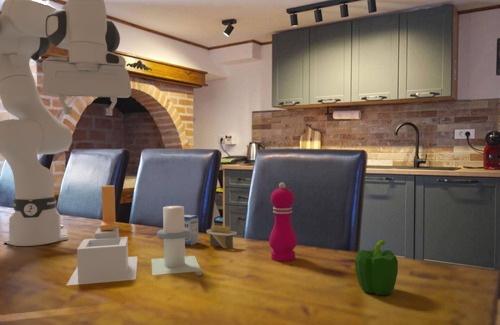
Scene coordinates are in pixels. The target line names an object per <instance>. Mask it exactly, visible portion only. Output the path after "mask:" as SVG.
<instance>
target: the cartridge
mask: <svg viewBox="0 0 500 325" xmlns="http://www.w3.org/2000/svg"><path fill="white" fill-rule="evenodd" d="M162 215H163V216H162V218H163V219H162V220H163V222H162V224H163V226H162V227H163V229H159V230H157V231H156V236H157V238H159V239H163V258H164V266H165V267H170V268H175V267H181V266H184V265H185V256H186V245H185V237H188V236H190V235H191V230H190V229H187V228H184V215H185V206H182V205H166V206H163V207H162Z"/></svg>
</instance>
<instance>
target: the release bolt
mask: <svg viewBox="0 0 500 325" xmlns="http://www.w3.org/2000/svg"><path fill="white" fill-rule="evenodd" d="M115 189H116V188H115V185H102V186H101V207H102V208H101V209H102V211H101V212H102V221H101V223H100V225H99V228H100V230H113V229H114V227H116V195H115V194H116V192H115V191H116V190H115Z"/></svg>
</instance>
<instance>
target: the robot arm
mask: <svg viewBox="0 0 500 325" xmlns="http://www.w3.org/2000/svg"><path fill="white" fill-rule="evenodd" d="M120 42H121V36H120V33H119V30H118V28H117V26H116V25H115V23H114V22H113V21H112V20H110V19H107V9H106V4H105V0H67V2H66V3H65V4H64V5H63V6H62V7H61V8H57V7H55V6H53V5H51V4H49V3H47V2H45V1H43V0H4V1H3V3H2V4H1V13H0V99H1V103H2V106H3V108H4V109H5V111H7V113H9V114H10V115H12V116H14V117H15V118H11V119H4V120H0V155H1V156H2V157H3V158H4V159H5V161H6V162H7V164H8V165H9V167H10V169H11V171H12V176H13V181H14V182H13V184H14V194H15V195H14V196H15V197H14V199H13V210H14V211H13V214H12V215H11V216H9V219H8V221H9V222H8V238H6V239H4V240H3V244H4V243H7V244H6V245H11V246H14V247H15V246H16V247H17V246H18V247H29V246H32V247H33V246H42V245H48V244H53V243H55V242H62V241H66V240H69V236H68V234H69V233H68V230H67V229H66V228H65V229H63V228H64V225H63V224H61V214H60V213H59V212H58V210H57V200H56V199H57V198H56V196H55V187H54V186H55V184H54V181H55V180H54V179H55V178H54V174H53V172H52V171H51V169H49V168H48V167H46V166H43V165H42V164H41V162H40V161H39V157H38V155H55V154H59V153H63V152H66V151H67V150H69V149H70V147H71V145H72V143H73V133H72V131H71V129H70V127H69V126H68V125H66V124H64V122H62V121H60V120H59V119H57V117H55V116H54V115H53V113H52V112H51V111H50V110H49V109H48V108H47V106H46V105H45V103H44V101H43V99H42V97H41V95H40V92H39V90H38V87H37V84H36V81H35V78H34V75H33V73H32V70H31V66H30V61H31V59H32V60H33V61H34V62H36V61H39V60H40V57H43V56H44V55H45V54H46V53H47V51H49V49H50V46H51V45H52V46H53V47H57V48H58V49H62V50H67V51H68V56H55V55H54V56H52V55H51V56H48V57H46V58H44V59H43V60H42V62H41V71H42V73H43V78H42V91H43V92H44V94H45V95H47V96H55V97H56V96H58V99H59V101H60V103H61V105H62V106H63V108H64V109H63V110H64V115H66V116H67V115H68V116H71V115H73V112H72V111H73V107H71V106H68V104H67V102H66V101H68V97H88V98H90V97H92V98H93V97H94V98H95V97H96V98H109V99H110V101H111V104H110V106H109V107H105V116H111V117H112V116H113V109H114V107H115V105H116V104H117V103H118V101H117V100H118V98H121V99H123V98H124V99H127V98H130V97H131V96H132V85H131V79H130V75H129V71H128V69H127V68H126V66H127V64H126V63H127V61H126V59H125V57H123V56H122V55H120V54H116V53H115V52H116V51H117V50H118V48H119V46H120V44H121V43H120Z"/></svg>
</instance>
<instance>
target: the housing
mask: <svg viewBox="0 0 500 325" xmlns="http://www.w3.org/2000/svg"><path fill="white" fill-rule="evenodd" d="M119 231H120V229H119V226H117V227H116V226H114V229H113V230H100V227H98V228H97V229H96V231H95V233H94V238H86V239H83V240H82V241H81V242H80V243H79V244H80V245H79V246H78V247H77V248H76V257H77V258H76V261H77V265H76V268H75V270H74V271H73V273H72V275H71V277H69V279H68V282H67V283H66V285H65V286H67V287H68V286H80V285H88V284H89V285H90V284H100V283H102V284H103V283H111V282H113V283H114V282H122V281H134V280H136V279H137V267H138V257H139V256H129V237H128V236H120V232H119Z"/></svg>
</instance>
